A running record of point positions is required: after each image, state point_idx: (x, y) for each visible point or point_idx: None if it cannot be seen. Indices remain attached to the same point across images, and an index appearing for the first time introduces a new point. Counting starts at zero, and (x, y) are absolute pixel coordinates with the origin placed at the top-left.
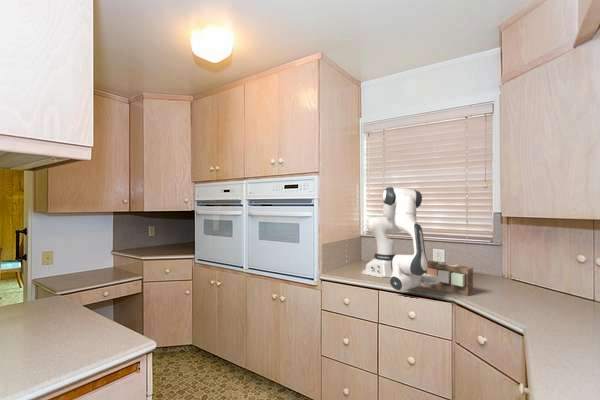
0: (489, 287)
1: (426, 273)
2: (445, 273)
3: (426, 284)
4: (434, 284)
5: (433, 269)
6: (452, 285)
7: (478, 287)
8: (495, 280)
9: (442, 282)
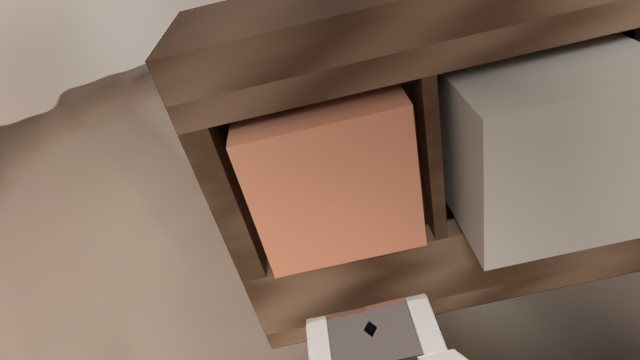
0: None
1: (368, 322)
2: (635, 112)
3: (284, 334)
4: (387, 295)
5: (349, 131)
6: None
7: None
8: None
9: None
